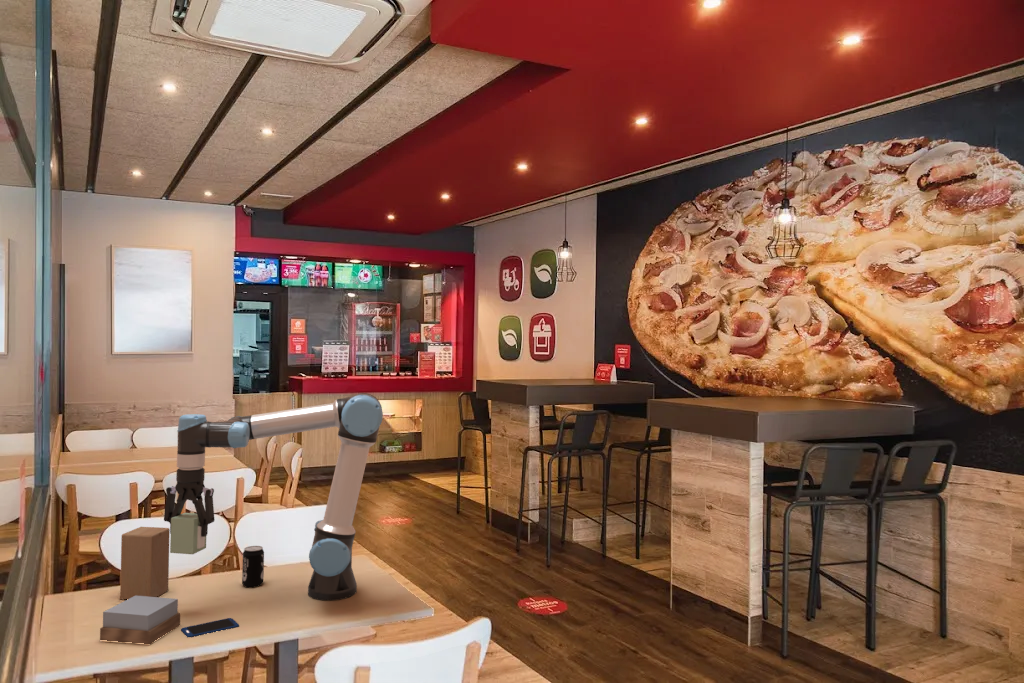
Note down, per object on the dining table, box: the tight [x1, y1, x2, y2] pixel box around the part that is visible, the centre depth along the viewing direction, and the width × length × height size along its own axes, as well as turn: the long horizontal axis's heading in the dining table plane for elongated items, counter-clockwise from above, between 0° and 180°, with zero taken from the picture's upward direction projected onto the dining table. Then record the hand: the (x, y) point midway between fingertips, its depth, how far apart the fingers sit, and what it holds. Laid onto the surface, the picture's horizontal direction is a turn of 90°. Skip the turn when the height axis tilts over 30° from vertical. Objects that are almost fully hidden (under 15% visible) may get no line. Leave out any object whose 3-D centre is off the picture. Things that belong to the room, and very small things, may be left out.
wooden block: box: [119, 526, 170, 600], centre depth 231 cm, size 10×10×20 cm
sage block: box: [169, 512, 207, 555], centre depth 217 cm, size 7×7×10 cm
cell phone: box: [180, 617, 240, 638], centre depth 206 cm, size 7×14×1 cm, turn 129°
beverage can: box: [241, 545, 265, 588], centre depth 243 cm, size 7×7×12 cm
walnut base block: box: [99, 612, 181, 645], centre depth 201 cm, size 14×14×4 cm
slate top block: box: [102, 596, 179, 631], centre depth 202 cm, size 13×13×4 cm
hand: (188, 546), depth 217 cm, fingers closed on sage block, 7 cm apart
